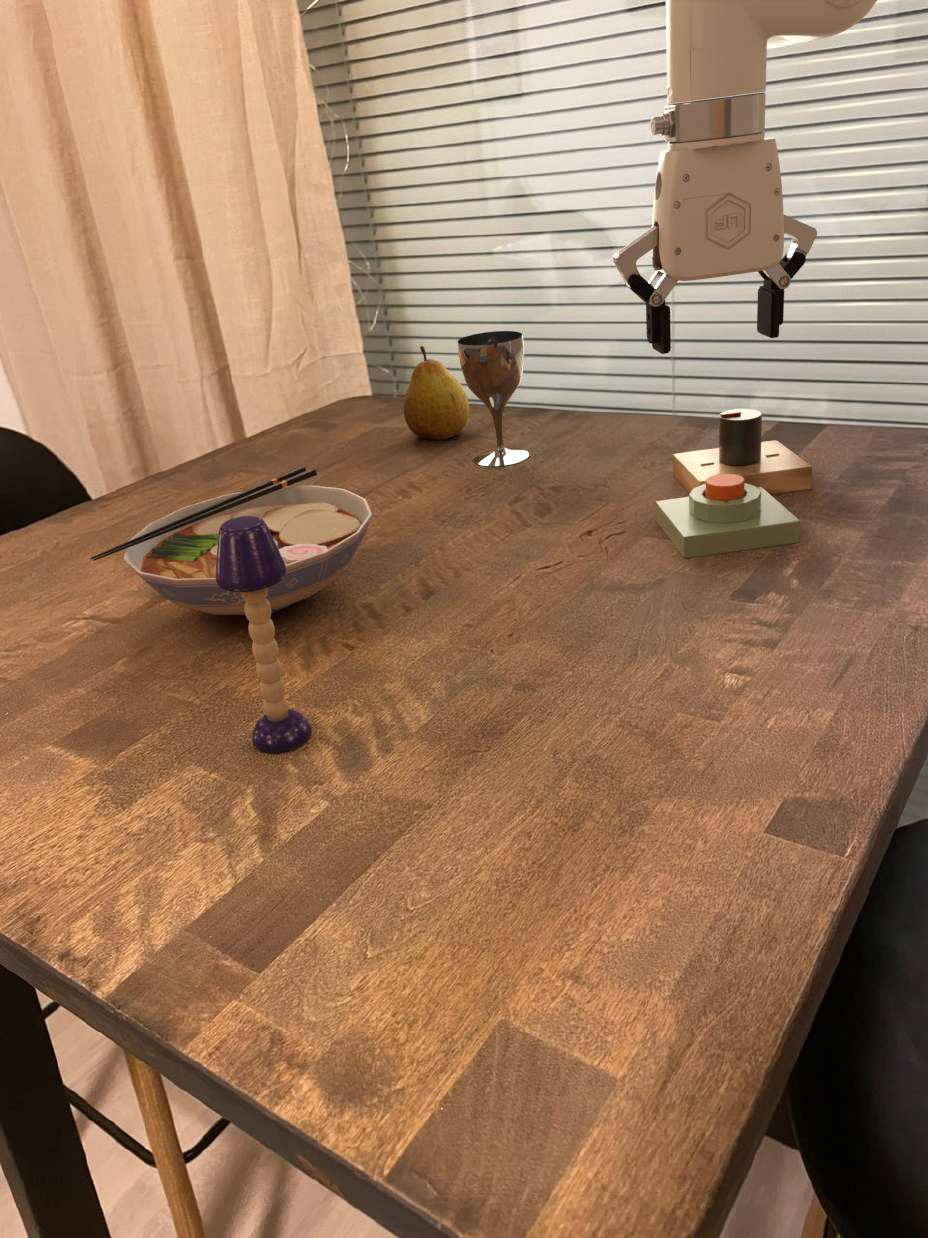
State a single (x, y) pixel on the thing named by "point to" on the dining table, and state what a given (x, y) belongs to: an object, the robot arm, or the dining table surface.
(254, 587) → the toy lamp
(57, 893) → the dining table surface
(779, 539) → the switch box
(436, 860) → the dining table surface
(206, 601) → the ramen bowl
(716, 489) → the power button
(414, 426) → the fruit
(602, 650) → the dining table surface
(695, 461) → the dimmer panel
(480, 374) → the wine glass
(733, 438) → the dimmer knob
